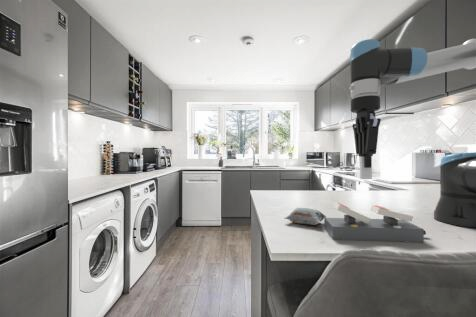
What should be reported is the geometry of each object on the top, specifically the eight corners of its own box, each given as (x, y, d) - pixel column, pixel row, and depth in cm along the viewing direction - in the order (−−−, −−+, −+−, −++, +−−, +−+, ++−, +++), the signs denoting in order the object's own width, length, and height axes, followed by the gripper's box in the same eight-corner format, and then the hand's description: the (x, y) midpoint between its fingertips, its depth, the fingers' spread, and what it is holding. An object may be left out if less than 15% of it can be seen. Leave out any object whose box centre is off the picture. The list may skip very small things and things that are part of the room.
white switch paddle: (361, 219, 70) (364, 214, 70) (368, 223, 65) (370, 218, 65) (332, 206, 71) (335, 201, 71) (337, 210, 66) (339, 204, 66)
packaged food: (319, 230, 73) (319, 214, 73) (283, 223, 79) (283, 209, 79) (326, 223, 80) (326, 209, 80) (293, 218, 86) (293, 205, 86)
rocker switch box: (414, 231, 70) (414, 214, 70) (436, 242, 61) (436, 223, 61) (324, 228, 73) (324, 212, 73) (332, 239, 64) (332, 220, 64)
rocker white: (402, 217, 69) (403, 211, 68) (411, 221, 64) (413, 215, 64) (370, 210, 70) (371, 204, 69) (377, 213, 65) (379, 207, 65)
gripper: (343, 102, 75) (344, 176, 75) (360, 92, 62) (361, 181, 62) (368, 101, 74) (369, 176, 75) (391, 90, 61) (391, 181, 62)
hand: (365, 178), depth 68 cm, fingers closed
